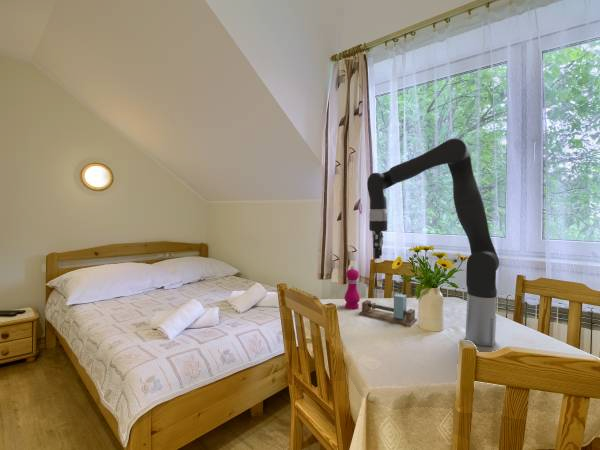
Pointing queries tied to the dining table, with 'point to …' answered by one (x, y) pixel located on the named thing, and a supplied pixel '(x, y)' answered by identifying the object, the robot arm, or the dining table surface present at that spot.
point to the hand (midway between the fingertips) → (378, 257)
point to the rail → (387, 314)
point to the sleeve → (399, 306)
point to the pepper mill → (352, 289)
